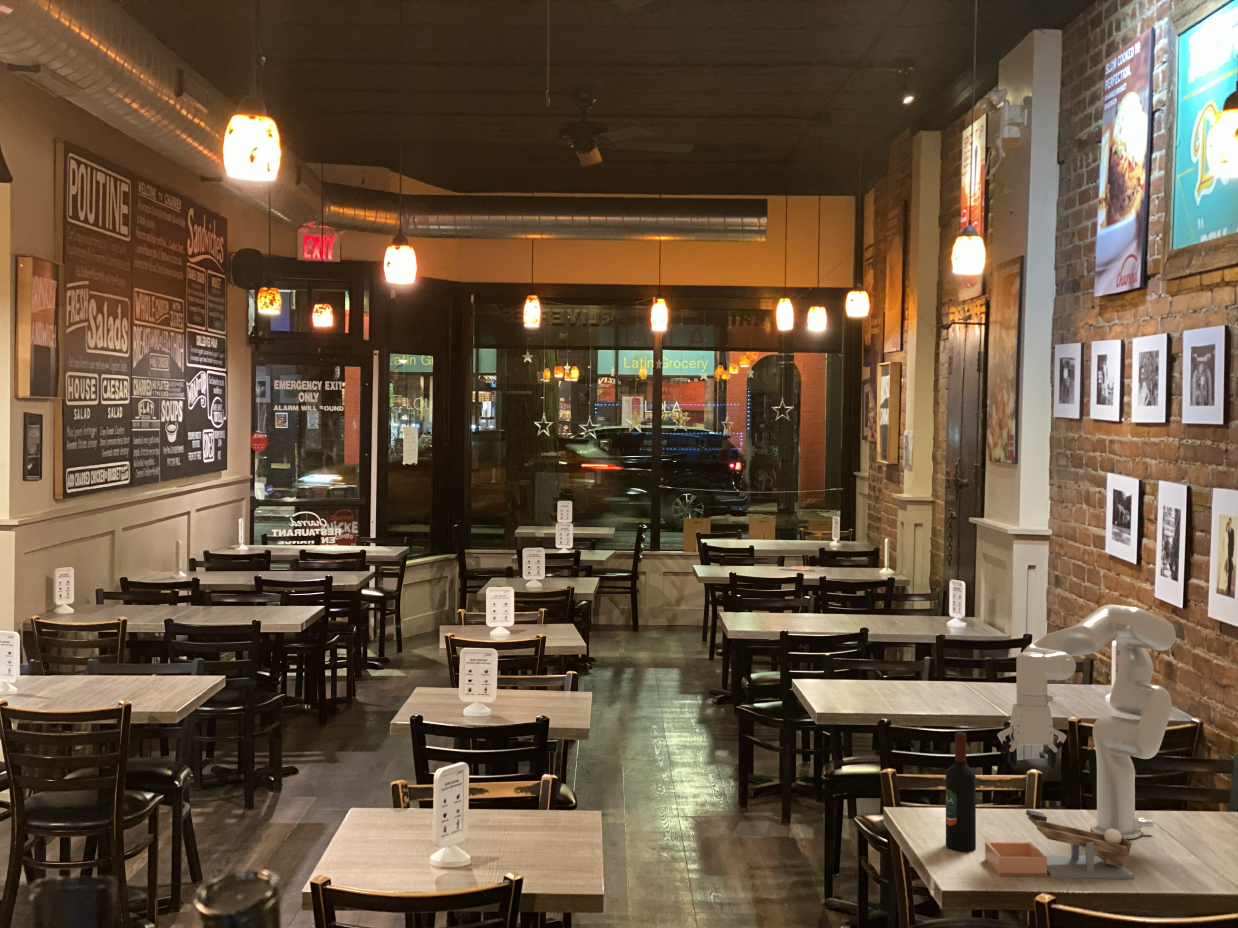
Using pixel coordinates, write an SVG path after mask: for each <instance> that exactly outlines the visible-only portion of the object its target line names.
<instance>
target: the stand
mask: <svg viewBox="0 0 1238 928" xmlns="http://www.w3.org/2000/svg"><path fill="white" fill-rule="evenodd" d="M1070 845H1071V847H1070V848H1071V849H1070V850H1071V854H1070V855H1044V854H1043V855H1044V856H1045V857H1046V858H1047V876H1049V878H1052V879H1053V878H1055V879H1056V878H1057V879H1060V878H1061V879H1063V878H1064V879H1067V878H1068V879H1120V880H1121V879H1123V880H1125V879H1128V880H1134V879H1135V874H1134V873H1133V872H1132V871H1131V870H1129V869H1128V868H1127V867H1126V866H1124V865H1123V866H1122V867H1120V866H1116V865H1111V864H1107V863H1105V862H1104V861H1103V860H1102V859H1100V858H1099V857H1098V856H1097V855H1094V854H1095V849H1094V843H1093V842H1086V847H1085V855H1080V846H1077V845H1073V844H1070Z"/></svg>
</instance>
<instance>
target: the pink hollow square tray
mask: <svg viewBox="0 0 1238 928" xmlns="http://www.w3.org/2000/svg"><path fill="white" fill-rule="evenodd" d="M984 844H985V845H984V846H985V847H984V849H985V850H984V856H985V857H984V858H985V859H984V860H985V861H986V862H987V863H988V864H989V866H990V867H991V868H992V869H993V870H994V871H995V873H996V874H997V876H999V877H1042V878H1043V877H1048V874H1047V858H1046V857H1045V856H1044V853H1042V851H1040V849H1038V848H1037V846H1035V845H1034V844H1033V843H1032V842H1028V841H1026V842H1024V841H1022V842H1019V841H1018V842H1017V841H1014V842H1013V841H984Z"/></svg>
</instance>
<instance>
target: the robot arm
mask: <svg viewBox="0 0 1238 928" xmlns="http://www.w3.org/2000/svg"><path fill="white" fill-rule="evenodd" d="M1176 633H1177V632H1176V629H1175V627H1174V625H1173V624H1172V623H1171V622H1170V621H1169V620H1167V619H1165V618H1163V617H1161V616H1159V615H1156V614H1154V613H1152V612H1150V611H1149V610H1148V611H1147V610H1146V609H1143V608H1139V607H1136V606H1130V605H1129V606H1128V605H1122V604H1121V605H1119V604H1105V605H1102V606H1099V608H1097V609H1096V610H1094V611H1093V612H1092V613H1090V614H1089V615H1087V616H1085V618H1083V619H1082V620H1081V621H1079V622H1078V623H1077V624H1076V625H1074V626H1070V627H1067V628H1062V629H1060V630H1057V631H1053V632H1051V633H1048V634H1047V633H1046V634H1044V635H1042V636H1039V637H1038V638H1037V639H1036V640H1034V641H1033V642H1031V643H1030V644H1029V645H1027V646H1026V647H1025V649H1024V650H1022V652H1020V653H1018V654H1017V656H1016V703H1013V704H1012V707H1011V708H1012V709H1011V715H1010V723H1009V727H1008V728H1005V729H1003V730H1002V731H1000V732H998V733H997V737H998V738H999V740H1000V742H1001V744H1002V745H1003V746H1004V747H1005V748H1006V749H1007V752H1008V753H1007V762H1008V764H1010V766H1011V767H1012V768H1017V751H1015V750H1016V749H1017V748H1018V747H1019V746H1047V747H1048V748H1049V749H1048V750H1047V766H1049V767H1050V768H1052V769H1054V768H1055V765H1056V763H1057V752H1059V749H1061V748H1062V747H1063V745H1064V743H1065V741H1066V740H1067V736H1068V735H1067V734H1065V733H1064V732H1062V731H1060V730H1058V729H1056V728H1054V725H1053V724H1054V723H1053V716H1052V712H1051V711H1052V710H1051V706H1050V705H1049V703H1050V702H1053V701H1054V697H1053V696H1052V695H1049V694H1048V681H1050V680H1052V681H1053V680H1055V681H1064V680H1065V681H1066V680H1068V679H1070V678H1071V677H1072V676H1073V675H1074V674H1075V672H1076V668H1077V664H1076V660H1075V659H1074V657H1076V656H1086V655H1091V654H1095V653H1096V652H1098V651H1099V650H1101V649H1102V648H1103V647H1104V646H1106V645H1107V644H1108V643H1109V642H1110V641H1112V640H1114V641H1115V642H1116V645H1117V648H1118V651H1119V654H1120V662H1119V663H1120V664H1119V667H1118V671H1117V674H1116V676H1115V680H1114V683H1113V686H1112V690H1111V692H1110V697H1109V703H1110V704H1109V705H1110V708H1111V709H1113V710H1114V711H1115V712H1117V713H1119V714H1123V715H1126V716H1131V717H1136V718H1139V720H1134V719H1130V718H1125V717H1123V716H1116V715H1104V716H1101V717H1098V718H1097V719H1096V720H1095V722H1094V724H1093V726H1092V739H1093V743H1094V748H1095V756H1096V821H1095V822H1092V823H1091V825H1090V829H1091V832H1094V833H1099V834H1103V835H1104V834H1105V832H1106V831H1107V830H1108V829H1116V830H1118V831H1119V832H1120V834H1121V836H1123V837H1124V838H1125V839H1126V840H1132V839H1138V838H1139V837H1141V836H1142V830H1141V829H1142V827H1145V828H1153V827H1154V820H1152V819H1145V818H1144V817H1138V816H1136V815H1135V813H1136V812H1135V811H1136V808H1135V807H1136V796H1135V795H1136V789H1135V787H1136V786H1135V783H1136V782H1135V780H1136V779H1135V778H1136V774H1135V773H1136V772H1135V765H1134V763H1133V760H1132V758H1131V757H1134V758H1139V759H1143V760H1148V759H1151V758H1153V757H1156V755H1157V754H1158V752H1159V750H1160V747H1161V745H1162V742H1163V739H1164V736H1165V733H1166V730H1167V726H1168V723H1169V720H1170V717H1171V712H1172V705H1173V704H1172V697H1171V694H1170V692H1169V691H1168V690H1167V689H1166V688H1164V687H1163V686H1161V685H1157V684H1151V681H1152V678H1153V674H1154V664H1153V661H1152V658H1151V655H1150V654H1149V652H1148V650H1155V651H1167V650H1169V649H1170V648H1172V646H1173V645H1174V644H1175V641H1176V637H1177V636H1176V635H1177V634H1176ZM1054 735H1055V736H1057V737H1058V739H1057V740H1056V741H1054ZM1007 736H1009V738H1010V742H1008V741H1007V739H1006V737H1007Z"/></svg>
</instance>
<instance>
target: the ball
mask: <svg viewBox="0 0 1238 928" xmlns="http://www.w3.org/2000/svg"><path fill="white" fill-rule="evenodd" d="M1104 838H1105V840H1106V842H1108V843H1113V844H1117V845H1118V844H1120V843H1121V840H1122V836H1121V834H1120V832H1119V831H1118V830H1116V829H1108V830H1107V831H1106V832H1105V834H1104Z"/></svg>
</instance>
